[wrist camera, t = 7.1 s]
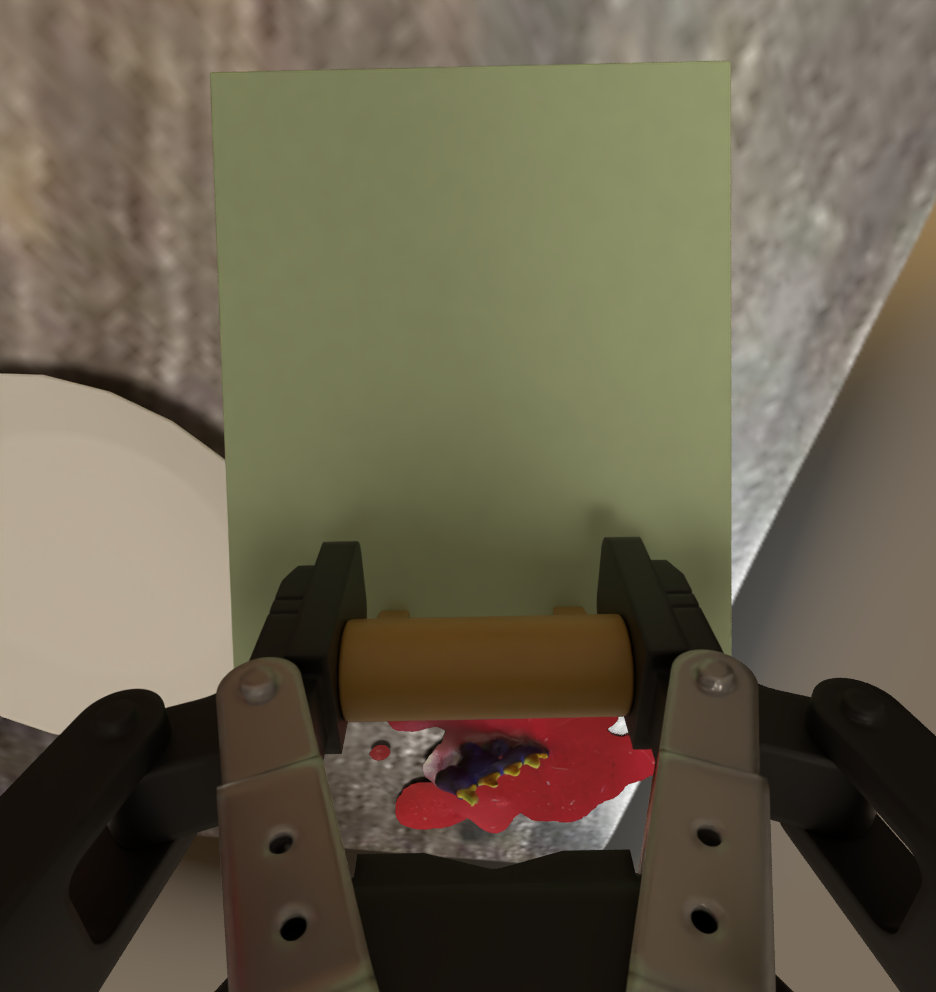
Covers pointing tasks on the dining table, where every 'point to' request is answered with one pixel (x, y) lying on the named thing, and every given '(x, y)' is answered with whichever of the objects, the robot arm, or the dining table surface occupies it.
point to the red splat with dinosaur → (518, 771)
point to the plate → (106, 553)
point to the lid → (476, 364)
